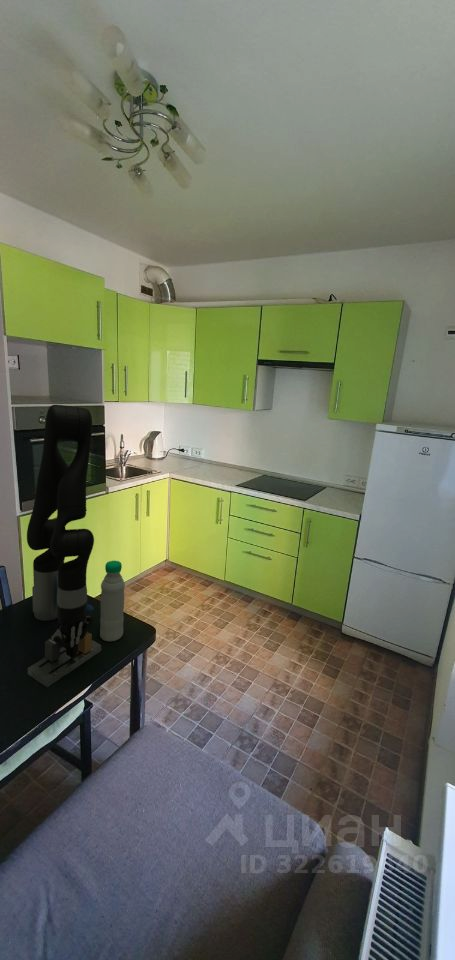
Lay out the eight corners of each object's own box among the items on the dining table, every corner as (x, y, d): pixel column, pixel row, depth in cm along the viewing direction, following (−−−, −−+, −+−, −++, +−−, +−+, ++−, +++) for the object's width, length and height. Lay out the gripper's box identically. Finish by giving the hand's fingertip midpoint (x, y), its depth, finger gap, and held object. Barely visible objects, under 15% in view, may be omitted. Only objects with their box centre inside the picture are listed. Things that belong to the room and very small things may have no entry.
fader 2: (77, 649, 112) (77, 634, 110) (84, 645, 114) (84, 630, 113) (84, 653, 110) (84, 638, 109) (91, 649, 112) (91, 633, 111)
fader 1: (45, 657, 107) (44, 641, 106) (52, 653, 109) (52, 637, 108) (52, 662, 106) (51, 645, 105) (59, 657, 108) (59, 641, 107)
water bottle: (116, 644, 119) (118, 569, 113) (95, 639, 120) (96, 565, 115) (126, 631, 126) (129, 560, 120) (106, 627, 127) (108, 556, 121)
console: (27, 674, 104) (27, 667, 103) (82, 640, 119) (82, 634, 119) (47, 687, 100) (46, 680, 100) (101, 650, 116) (101, 644, 115)
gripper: (82, 585, 112) (82, 638, 116) (41, 605, 100) (42, 663, 104) (101, 594, 108) (100, 648, 112) (60, 615, 97) (60, 675, 101)
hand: (72, 655), depth 108 cm, fingers closed
